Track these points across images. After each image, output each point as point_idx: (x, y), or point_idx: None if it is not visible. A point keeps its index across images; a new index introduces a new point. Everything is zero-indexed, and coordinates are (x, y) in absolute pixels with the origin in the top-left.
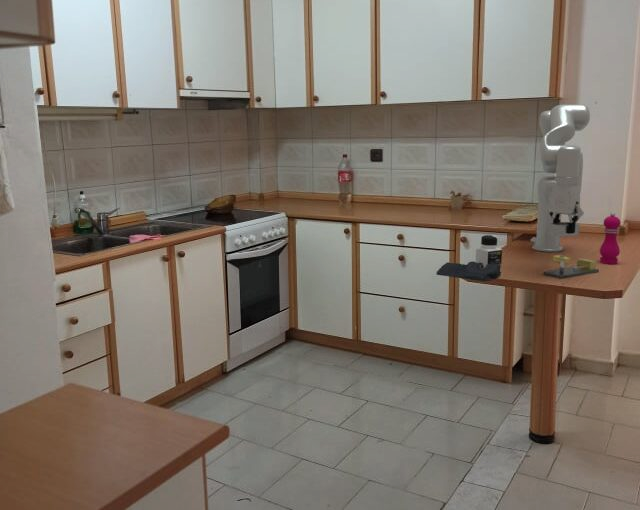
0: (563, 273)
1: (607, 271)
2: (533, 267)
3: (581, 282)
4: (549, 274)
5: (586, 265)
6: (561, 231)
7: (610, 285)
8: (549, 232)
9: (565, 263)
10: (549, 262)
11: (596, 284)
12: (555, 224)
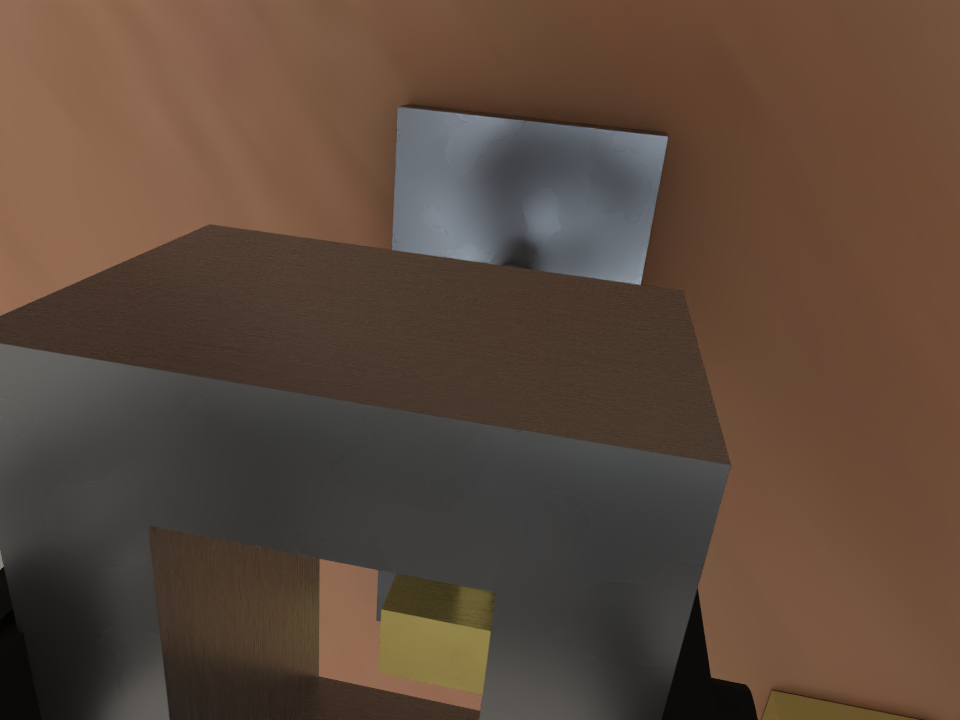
0: (457, 240)
1: (362, 664)
2: (950, 347)
3: (191, 143)
4: (567, 124)
5: (439, 587)
6: (117, 276)
7: (8, 256)
8: (619, 305)
9: (770, 698)
10: (928, 657)
11: (78, 189)
12: (339, 453)
